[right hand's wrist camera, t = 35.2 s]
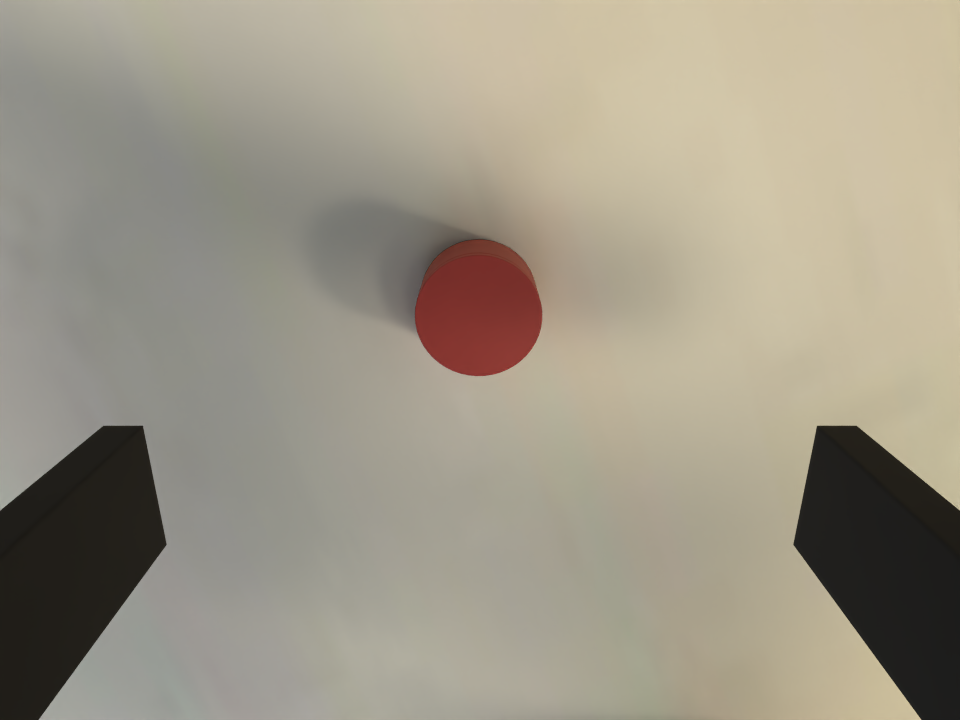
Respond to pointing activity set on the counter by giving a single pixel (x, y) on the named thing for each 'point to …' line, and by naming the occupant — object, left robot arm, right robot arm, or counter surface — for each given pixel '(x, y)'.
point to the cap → (478, 308)
